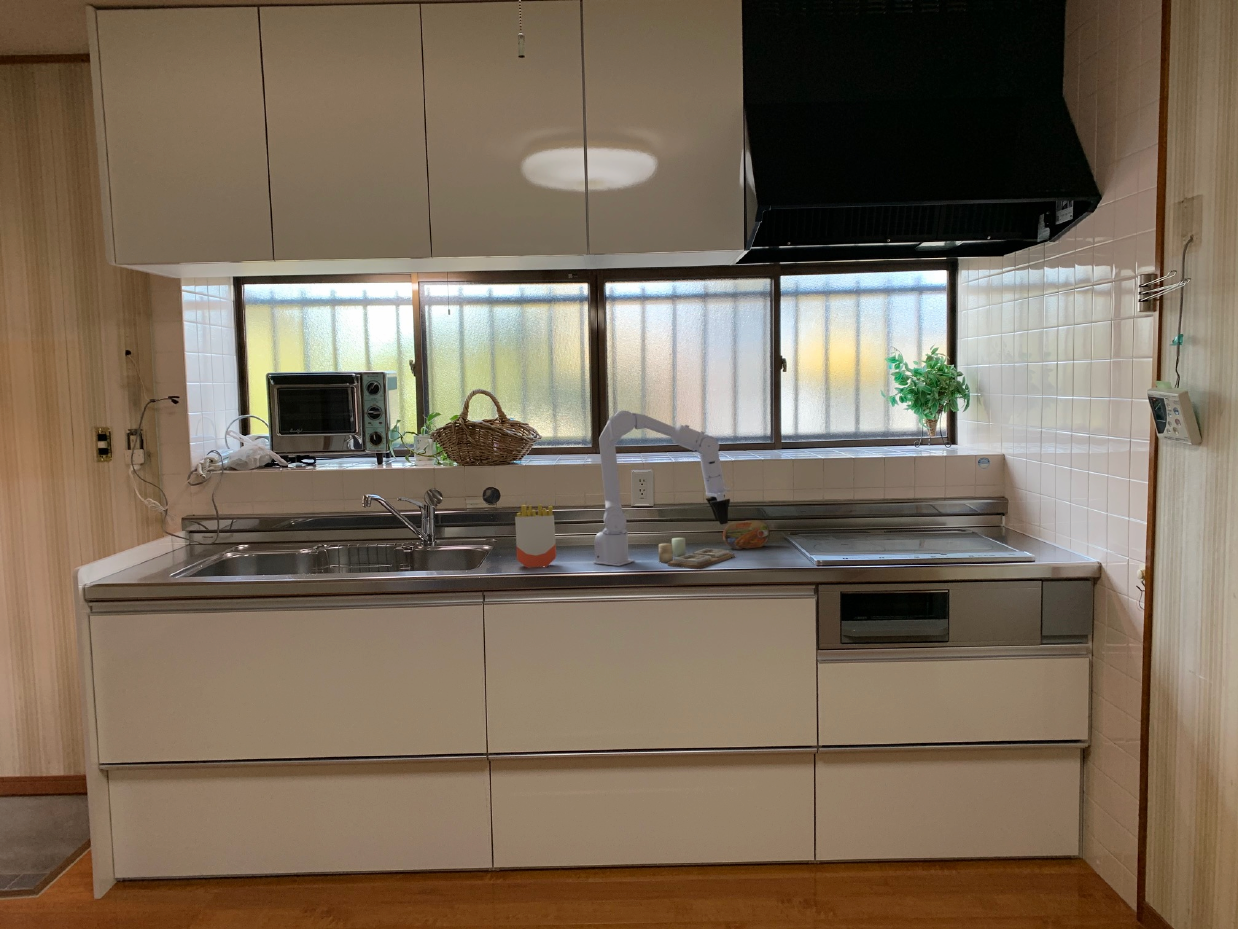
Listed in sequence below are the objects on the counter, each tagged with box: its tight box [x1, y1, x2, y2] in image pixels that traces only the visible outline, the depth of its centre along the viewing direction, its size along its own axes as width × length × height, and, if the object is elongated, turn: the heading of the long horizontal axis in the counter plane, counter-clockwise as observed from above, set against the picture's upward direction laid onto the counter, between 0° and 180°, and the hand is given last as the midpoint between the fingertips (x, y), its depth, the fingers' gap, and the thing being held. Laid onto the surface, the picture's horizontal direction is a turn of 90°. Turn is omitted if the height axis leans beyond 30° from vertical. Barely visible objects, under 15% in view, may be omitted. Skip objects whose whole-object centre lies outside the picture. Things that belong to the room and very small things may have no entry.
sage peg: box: [671, 537, 687, 558], centre depth 249 cm, size 4×4×5 cm
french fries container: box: [514, 504, 557, 568], centre depth 240 cm, size 5×11×18 cm, turn 90°
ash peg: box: [658, 542, 674, 564], centre depth 240 cm, size 4×4×5 cm
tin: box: [722, 519, 771, 550], centre depth 258 cm, size 15×3×8 cm, turn 105°
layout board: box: [667, 548, 735, 570], centre depth 239 cm, size 10×20×2 cm, turn 143°
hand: (721, 522), depth 242 cm, fingers open, 7 cm apart
